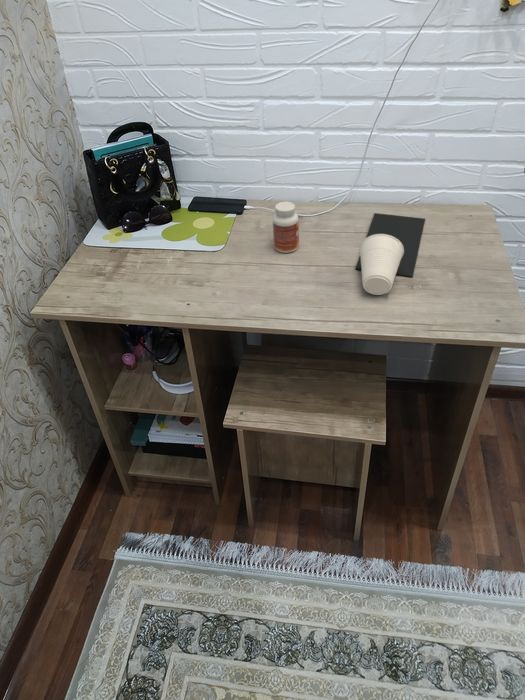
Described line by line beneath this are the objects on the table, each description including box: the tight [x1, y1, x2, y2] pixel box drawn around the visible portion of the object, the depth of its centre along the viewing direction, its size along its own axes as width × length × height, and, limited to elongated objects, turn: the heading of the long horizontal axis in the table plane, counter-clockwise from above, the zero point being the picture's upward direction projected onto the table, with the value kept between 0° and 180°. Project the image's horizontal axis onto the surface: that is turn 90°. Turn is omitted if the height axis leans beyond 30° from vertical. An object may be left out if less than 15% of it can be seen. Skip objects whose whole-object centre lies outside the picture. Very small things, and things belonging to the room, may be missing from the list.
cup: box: [358, 234, 404, 296], centre depth 125 cm, size 10×10×11 cm
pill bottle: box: [272, 201, 300, 254], centre depth 137 cm, size 6×6×11 cm
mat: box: [354, 212, 426, 278], centre depth 139 cm, size 26×13×1 cm, turn 162°
